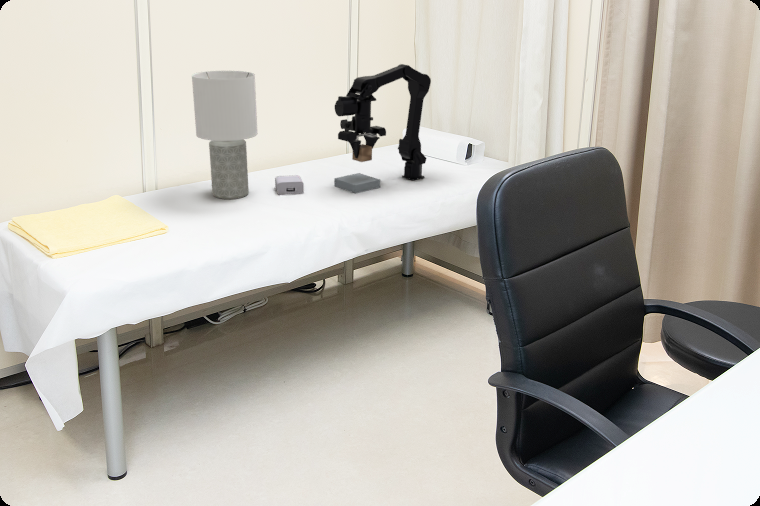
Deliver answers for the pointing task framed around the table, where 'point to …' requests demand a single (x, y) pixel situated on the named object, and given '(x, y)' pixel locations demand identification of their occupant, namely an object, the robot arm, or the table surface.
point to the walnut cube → (364, 153)
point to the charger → (289, 184)
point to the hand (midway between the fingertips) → (361, 157)
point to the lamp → (226, 126)
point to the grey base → (357, 183)
